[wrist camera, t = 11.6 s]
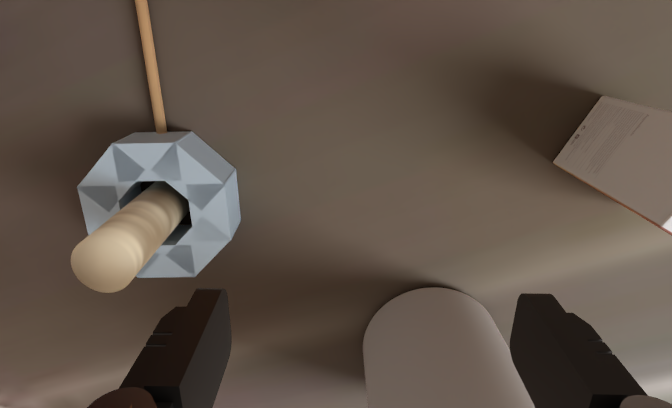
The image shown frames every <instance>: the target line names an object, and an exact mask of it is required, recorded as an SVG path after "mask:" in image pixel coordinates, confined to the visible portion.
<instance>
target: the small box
mask: <svg viewBox="0 0 672 408" xmlns="http://www.w3.org/2000/svg"><path fill="white" fill-rule="evenodd" d="M553 164H554V165H556V166H558V167H559V168H561V169H563V170H564V171H566V172H568V173H569V174H571V175H573V176H574V177H576V178H578V179H579V180H581V181H582V182H584V183H586V184H588V185H589V186H591V187H593V188H595V189H596V190H598V191H600V192H601V193H603V194H605V195H606V196H608V197H609V198H611V199H613V200H614V201H616V202H618V203H619V204H621V205H623V206H624V207H626V208H627V209H629V210H631V211H632V212H634V213H636V214H637V215H639V216H641V217H642V218H644V219H646V220H647V221H649V222H651V223H652V224H654V225H655V226H657V227H659V228H660V229H662V230H664V231H665V232H667V233H669V234H670V235H672V111H667V110H662V109H658V108H653V107H649V106H644V105H640V104H636V103H632V102H628V101H624V100H620V99H616V98H612V97H608V96H602V97H601V98H600V99H599V101H598V102H597V103H596V104H595V106H594V107H593V108H592V110H591V111H590V113H589V114H588V115H587V116H586V118H585V119H584V121H583V122H582V123H581V125H580V126H579V127H578V129H577V130H576V131H575V133H574V134H573V135H572V137H571V138H570V139H569V141H568V142H567V143H566V145H565V146H564V148H563V149H562V150H561V152H560V153H559V154H558V156H557V157H556V158H555V160H554V161H553Z"/></svg>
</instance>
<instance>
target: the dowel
mask: <svg viewBox="0 0 672 408" xmlns="http://www.w3.org/2000/svg"><path fill="white" fill-rule="evenodd" d="M189 211H190V208H189V201H188V199H186V198H185V197H184V196H183V195H182V194H180V193H179V192H178V191H177V190H175V189H174V188H173V187H172V186H170V185H169V184H168V183H167V182H166V181H155V182H154V183H153V184H152V185H151V186H149V187H148V188H147V189H146V190H144V191H143V192H142V193H141V194H139V195H138V196H137V197H136V198H134V199H133V200H132V201H131V202H130V203H128V204H127V205H126V206H125V207H123V208H122V209H121V210H120V211H118V212H117V213H116V214H115V215H113V216H112V217H111V218H110V219H109V220H107V221H106V222H105V223H104V224H102V225H101V226H100V227H99V228H97V229H96V230H95V231H94V232H93V233H91V234H90V235H89V236H88V237H86V238H85V239H84V240H83V241H81V242H80V243H79V244H78V245H77V246H76V247H75V248H74V250H73V252H72V255H71V266H72V269H73V272H74V274H75V275H76V277H77V278H78V279H79V280H80V281H81V282H82V283H83V284H84V285H85V286H87V287H89V288H91V289H93V290H95V291H99V292H104V293H112V292H117V291H120V290H122V289H124V288H125V287H126V286H127V285H128V284H129V283H130V282H131V281H132V280H133V278H134V277H135V276H136V275H137V273H138V272H139V271H140V270H141V269H142V267H143V266H144V265H145V264H146V263H147V261H148V260H149V259H150V258H151V257H152V255H153V254H154V253H155V252H156V251H157V249H158V248H159V247H160V246H161V245H162V243H163V242H164V241H165V240H166V239H167V237H168V236H169V235H170V234H171V233H172V231H173V230H174V229H175V228H176V227H177V225H178V224H179V223H180V222H181V221H182V219H183V218H184V217H185V216H186V215H187V213H188V212H189Z"/></svg>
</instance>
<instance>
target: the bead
mask: <svg viewBox="0 0 672 408" xmlns="http://www.w3.org/2000/svg"><path fill="white" fill-rule="evenodd" d="M143 181H166V182H167V183H168V184H169V185H170V186H172V187H173V188H174V189H175V190H177V191H178V192H179V193H180V194H182V195H183V196H184V197H185V198H186V199H188V201H189V208H190V215H191V221H192V224H191V225H177V227H176V228H175V229H174V230H173V231H172V233H171V234H170V235H169V236H168V237H167V239H166V240H165V241H164V242H163V243H162V245H161V246H160V247H159V248H158V249H157V251H156V252H155V253H154V254H153V255H152V257H151V258H150V259H149V260H148V261H147V263H146V264H145V265H144V266H143V267H142V269H141V270H140V271H139V272H138V273H137V275H136V276H137V277H138V278H159V277H196V275H197V274H198V273H199V272H200V271H201V270H202V269H203V268H204V267H205V266H206V265H207V264H208V263H209V262H210V261H211V260H212V259H213V258H214V257H215V256H216V255H217V254H218V253H219V252H220V250H221V249H222V248H223V247H224V246H225V245H226V244H227V243H228V242H229V241H231V239H232V237H233V235H234V233H235V231H236V229H237V228H238V226H239V224H240V222H241V215H240V205H239V195H238V185H237V175H236V168H234V167H233V166H232V165H230V164H229V163H228V162H227V161H226V160H225V159H223V158H222V157H221V156H220V155H219V154H218V153H217V152H215V151H214V150H213V149H212V148H211V147H210V146H208V145H207V144H206V143H205V142H204V141H203V140H201V139H200V138H199V137H198V136H197V135H196V134H194V133H193V131H183V132H167V133H164V134H157V133H156V132H134V133H132V134H130V135H128V136H126V137H124V138H122V139H120V140H118V141H116V142H114V143H112V144H111V146H110V147H109V148H108V149H107V151H106V152H105V153H104V154H103V156H102V157H101V158H100V159H99V161H98V162H97V163H96V164H95V166H94V167H93V168H92V169H91V170H90V172H89V173H88V174H87V175H86V177H85V178H84V179H83V180H82V182H81V183H80V184H79V185H78V186H77V189H78V193H79V197H80V201H81V206H82V210H83V214H84V218H85V223H86V227H87V231H88V235H90V234H91V233H93V232H94V231H95V230H96V229H97V228H99V227H100V226H101V225H102V224H104V223H105V222H106V221H107V220H109V219H110V218H111V217H112V216H113V215H115V214H116V213H117V212H118V211H120V210H121V209H122V208H123V207H125V206H126V205H127V204H128V203H130V202H131V201H132V200H133V199H134V198H136V197H137V196H138V195H139V194H141V193H142V191H141V185H140V184H141V183H142V182H143Z"/></svg>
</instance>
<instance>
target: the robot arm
mask: <svg viewBox="0 0 672 408" xmlns="http://www.w3.org/2000/svg"><path fill="white" fill-rule="evenodd" d="M230 350H231V327H230V317H229V307H228V297H227V292H226V290H225V289H202V288H198V289H196V291H195V292H194V294H193V296H192V298H191V300H190V302H189V303H188V305H187V307H175V308H174V309H173V310H171V311H170V312H169V313H168V314H166V315H165V316H164V317H163V318H161V320H160V321H159V323H158V325H157V326H156V328H155V330H154V331H153V335H151V336H150V338H149V340H148V341H147V343H146V347H144V348H143V349H142V351H141V353H140V354H139V356H138V358H137V359H136V361H135V363H134V364H133V366H132V368H131V369H130V371H129V373H128V374H127V376H126V378H125V379H124V381H123V382H122V384H121V386H120V387H119V389H116V390H113V391H111V392H108V393H106V394H104V395H102V396H101V397H99V398H98V399H96V400H95V401H94V402H92V403H91V404H90V405H89V406H88V407H87V408H212V407H213V404H214V401H215V398H216V395H217V392H218V389H219V386H220V383H221V380H222V377H223V374H224V371H225V368H226V365H227V362H228V359H229V356H230ZM510 353H511V358H512V361H513V364H514V366H515V368H516V370H517V372H518V374H519V376H520V378H521V380H522V382H523V384H524V386H525V388H526V390H527V392H528V394H529V396H530V398H531V400H532V402H533V404H534V406H535V408H672V404H670V403H668V402H665V401H663V400H660V399H658V398H654V397H651V396H648V395H647V394H646V393H645V392H644V390H643V389H642V388H641V387H640V386H639V384H638V383H637V382H636V381H635V379H634V378H633V377H632V376H631V374H630V373H629V372H628V371H627V370H626V368H625V367H624V366H623V365H622V363H621V362H620V361H619V360H618V358H617V357H616V356H615V355H612V351H611V350H610V349H609V347H608V346H607V345H606V344H605V343H603V342H602V339H601V338H600V336H599V335H598V334H597V333H596V331H595V330H594V329H593V328H592V326H591V325H589V324H588V323H586V322H585V321H584V320H582V319H581V318H579V317H578V316H576V315H575V314H574V313H566V312H565V310H564V309H563V308H562V306H561V305H560V304H559V303H558V301H557V300H556V299H555V297H554V296H553V295H551V294H521V295H520V296H519V298H518V301H517V307H516V312H515V317H514V322H513V327H512V332H511V338H510Z"/></svg>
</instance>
